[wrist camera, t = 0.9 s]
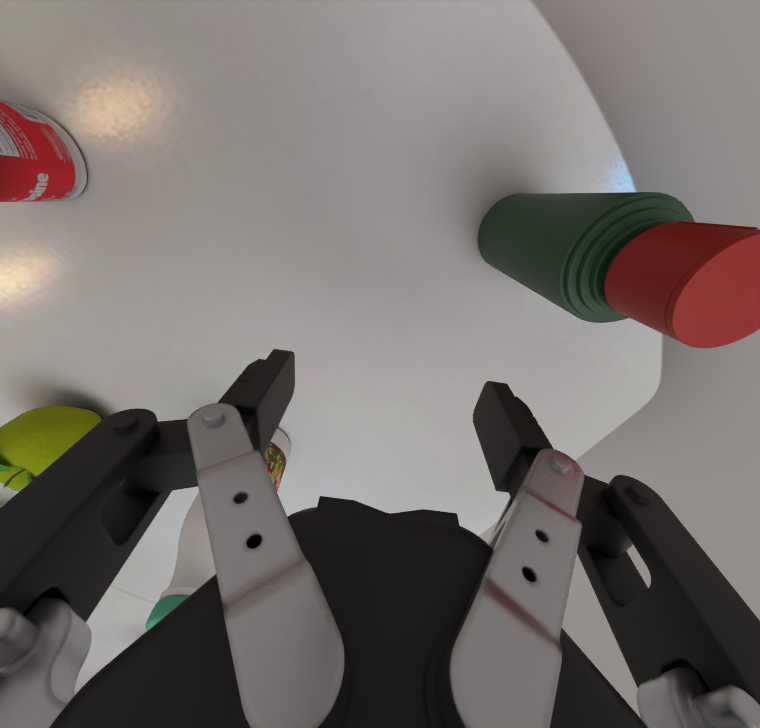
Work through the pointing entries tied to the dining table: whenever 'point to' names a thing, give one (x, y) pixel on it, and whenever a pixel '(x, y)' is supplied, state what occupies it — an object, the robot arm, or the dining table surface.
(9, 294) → the dining table surface
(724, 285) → the cap
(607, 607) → the robot arm
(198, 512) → the milk bottle
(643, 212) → the bottle
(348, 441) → the dining table surface
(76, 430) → the fruit
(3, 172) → the pill bottle
